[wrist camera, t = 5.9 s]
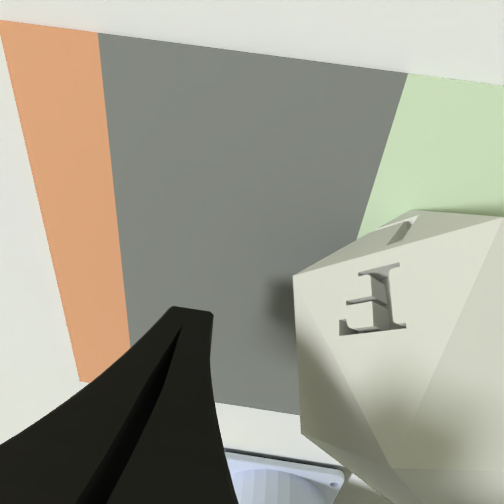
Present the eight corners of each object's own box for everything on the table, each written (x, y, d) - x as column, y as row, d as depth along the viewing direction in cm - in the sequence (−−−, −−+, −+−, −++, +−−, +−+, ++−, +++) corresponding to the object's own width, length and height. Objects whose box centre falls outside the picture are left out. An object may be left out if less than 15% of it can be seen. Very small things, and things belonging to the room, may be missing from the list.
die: (560, 160, 11) (656, 106, 3) (659, 419, 10) (1030, 1037, 3) (337, 236, 16) (181, 280, 9) (396, 409, 15) (284, 615, 8)
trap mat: (546, 449, 17) (549, 453, 17) (81, 378, 18) (79, 381, 18) (869, 133, 9) (880, 135, 9) (2, 20, 10) (-4, 19, 10)
